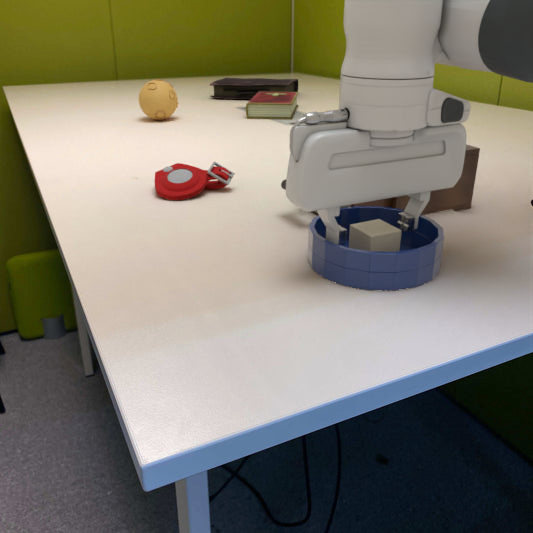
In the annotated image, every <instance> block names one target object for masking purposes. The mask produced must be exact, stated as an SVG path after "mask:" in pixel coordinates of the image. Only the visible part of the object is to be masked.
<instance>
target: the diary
mask: <svg viewBox="0 0 533 533" xmlns="http://www.w3.org/2000/svg"><path fill="white" fill-rule="evenodd" d="M210 86H211V87H212V88H213V95H212V94H211V95H210V96H209V97H211V98H213V99H226V100H251V99H252V98H253V97H254V96H255V95H256V94H257V93H258V92H298V93H299V79H298V78H263V77H256V78H253V77H250V78H249V77H248V78H243V77H242V78H241V77H223V78H221V79H217V80H214V81H212V82H210V83H209V87H210Z"/></svg>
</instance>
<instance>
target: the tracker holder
mask: <svg viewBox="0 0 533 533" xmlns="http://www.w3.org/2000/svg"><path fill="white" fill-rule="evenodd" d="M234 176H235V172H233V171H231V170H230V169H228V168H227V167H225V166H224V165H222V164H220V163H218V162H217V161H213V162H212V163H211V165H210V167H209V168H208V169H202V168H200V167H197V166H194V165H190V164H186V163H179V162H177V163H174V164H172V165H169V166H168V165H167V166H165V167H164V168H162V169H160V170H157V171H155V172H154V189H155V193H156V194H157V196H158V197H160V198H162V199H164V200H167V201H185V200H189V199H191V198H194V197H197V195H199V194H200V193H201V192H203V191H204V188H205V190H220V189H224V188H225V187H227V186H229V185H230V183H231V181H232V179H233V178H234Z"/></svg>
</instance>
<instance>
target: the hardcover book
mask: <svg viewBox="0 0 533 533" xmlns="http://www.w3.org/2000/svg"><path fill="white" fill-rule="evenodd" d="M298 95H299V91H298V92H258V93H257V94H256V95H255V96H254V97H253V98H252V99H249V100H248V102H246V105H245V116H246V119H247V120H249V119H251V120H293V118H294V116H295V114H296V111H297V109H298V107H299V104H298Z"/></svg>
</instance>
